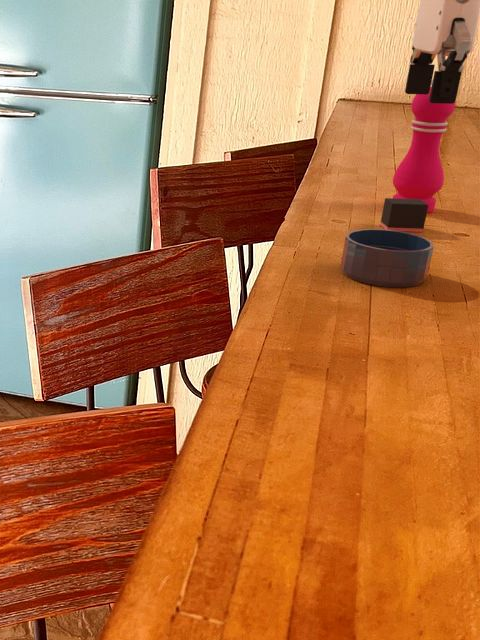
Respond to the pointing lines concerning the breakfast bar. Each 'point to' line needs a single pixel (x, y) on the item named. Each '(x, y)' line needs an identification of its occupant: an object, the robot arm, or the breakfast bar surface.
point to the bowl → (386, 257)
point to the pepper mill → (423, 152)
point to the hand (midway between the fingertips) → (428, 98)
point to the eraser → (404, 214)
